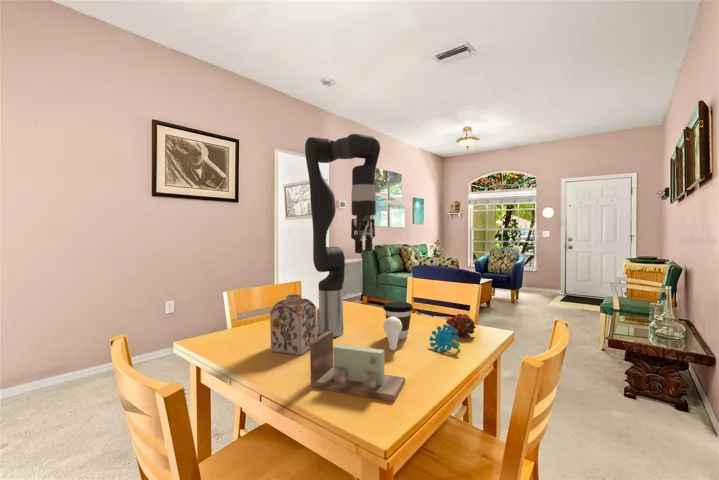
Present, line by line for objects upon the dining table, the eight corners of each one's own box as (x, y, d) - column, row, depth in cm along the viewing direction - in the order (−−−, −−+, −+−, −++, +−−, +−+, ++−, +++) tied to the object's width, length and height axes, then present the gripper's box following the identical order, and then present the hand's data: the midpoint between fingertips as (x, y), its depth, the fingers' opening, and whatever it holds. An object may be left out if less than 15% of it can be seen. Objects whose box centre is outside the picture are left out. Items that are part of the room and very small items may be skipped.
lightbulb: (390, 354, 108) (389, 320, 107) (380, 348, 113) (379, 316, 113) (406, 351, 110) (405, 317, 110) (395, 345, 116) (395, 313, 115)
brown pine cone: (475, 343, 121) (447, 340, 131) (484, 325, 126) (457, 323, 135) (464, 327, 119) (437, 324, 128) (473, 309, 123) (446, 308, 133)
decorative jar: (288, 340, 123) (287, 291, 122) (317, 344, 119) (317, 292, 118) (269, 352, 112) (268, 297, 111) (300, 356, 108) (299, 299, 107)
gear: (422, 342, 114) (440, 319, 117) (430, 351, 117) (447, 328, 120) (447, 356, 105) (465, 331, 108) (455, 366, 108) (472, 341, 110)
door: (331, 379, 87) (331, 349, 87) (337, 373, 91) (337, 344, 90) (379, 388, 82) (379, 355, 82) (384, 381, 86) (384, 350, 85)
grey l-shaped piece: (310, 386, 87) (310, 342, 86) (328, 371, 96) (327, 330, 96) (394, 401, 78) (393, 352, 78) (404, 383, 88) (404, 339, 87)
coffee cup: (379, 339, 122) (379, 306, 122) (388, 330, 133) (388, 300, 132) (409, 343, 118) (408, 309, 118) (416, 333, 128) (416, 302, 128)
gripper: (360, 201, 114) (361, 250, 114) (343, 199, 101) (343, 253, 101) (382, 201, 111) (382, 250, 112) (366, 198, 98) (367, 254, 98)
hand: (363, 252), depth 106 cm, fingers open, 8 cm apart
